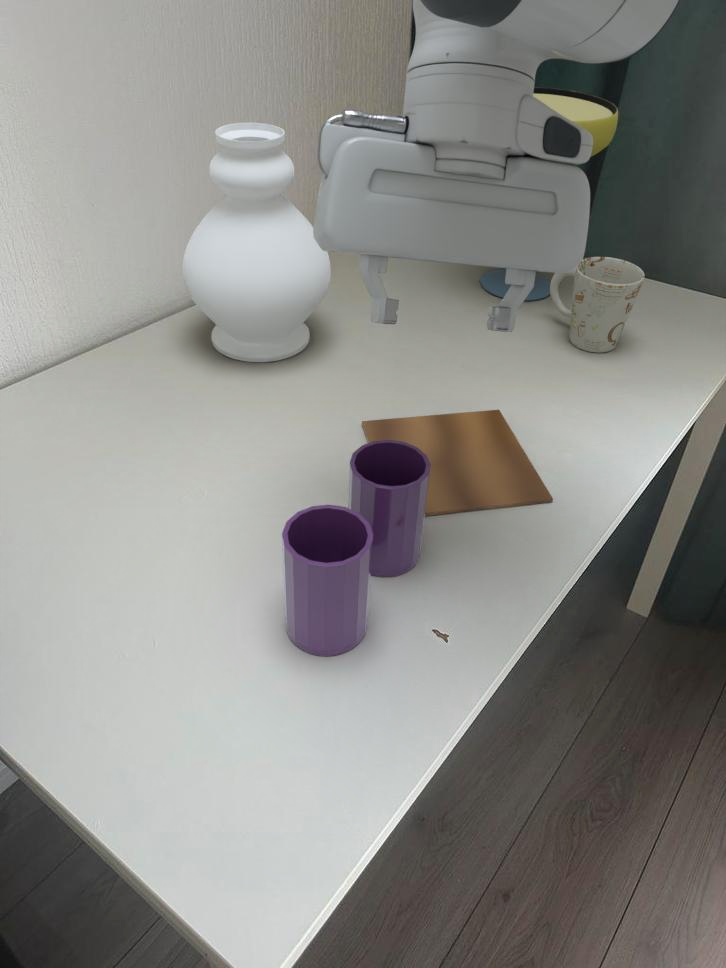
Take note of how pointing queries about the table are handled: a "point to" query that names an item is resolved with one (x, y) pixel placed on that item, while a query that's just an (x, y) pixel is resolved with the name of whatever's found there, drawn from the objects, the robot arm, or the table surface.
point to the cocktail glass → (602, 127)
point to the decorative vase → (255, 251)
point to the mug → (599, 301)
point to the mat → (467, 460)
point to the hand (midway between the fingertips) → (442, 327)
